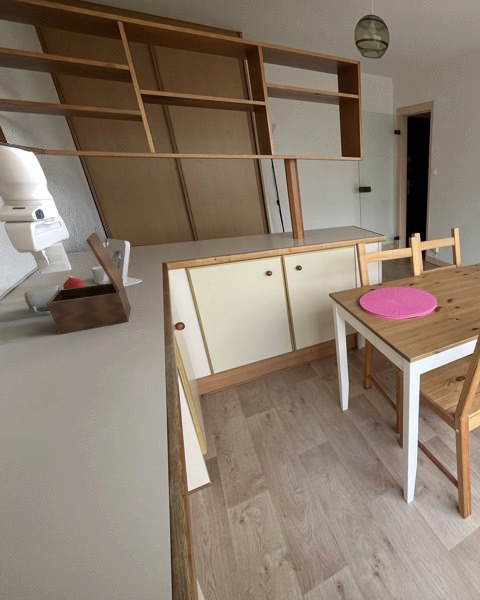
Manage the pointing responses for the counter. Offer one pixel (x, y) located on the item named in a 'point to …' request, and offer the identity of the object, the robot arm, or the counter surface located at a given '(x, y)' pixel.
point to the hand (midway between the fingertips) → (53, 261)
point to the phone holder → (115, 262)
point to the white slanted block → (55, 259)
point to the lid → (105, 261)
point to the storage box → (89, 307)
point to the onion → (73, 283)
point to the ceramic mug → (40, 299)
